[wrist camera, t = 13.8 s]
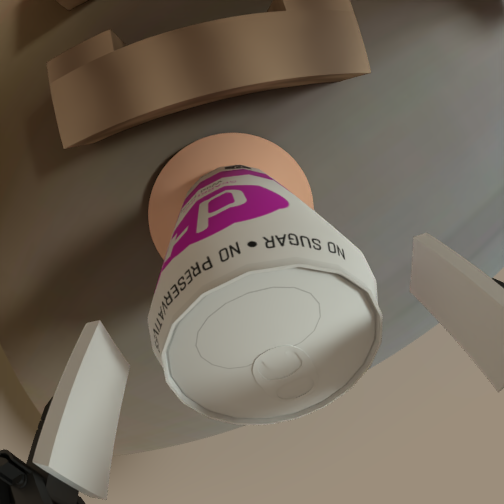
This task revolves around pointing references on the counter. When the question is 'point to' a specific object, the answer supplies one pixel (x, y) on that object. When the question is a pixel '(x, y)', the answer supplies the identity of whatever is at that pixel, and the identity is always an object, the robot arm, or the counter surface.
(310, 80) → the walnut caddy
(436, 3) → the counter surface
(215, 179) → the supplement can
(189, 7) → the counter surface
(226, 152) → the peach smooth rounded piece
